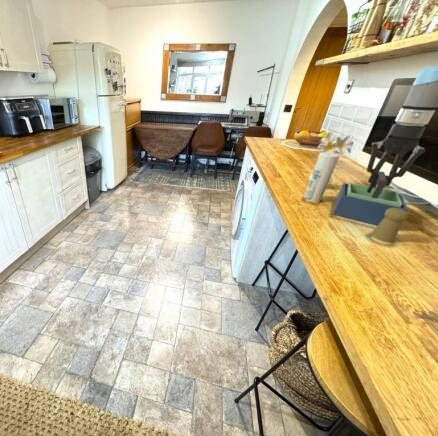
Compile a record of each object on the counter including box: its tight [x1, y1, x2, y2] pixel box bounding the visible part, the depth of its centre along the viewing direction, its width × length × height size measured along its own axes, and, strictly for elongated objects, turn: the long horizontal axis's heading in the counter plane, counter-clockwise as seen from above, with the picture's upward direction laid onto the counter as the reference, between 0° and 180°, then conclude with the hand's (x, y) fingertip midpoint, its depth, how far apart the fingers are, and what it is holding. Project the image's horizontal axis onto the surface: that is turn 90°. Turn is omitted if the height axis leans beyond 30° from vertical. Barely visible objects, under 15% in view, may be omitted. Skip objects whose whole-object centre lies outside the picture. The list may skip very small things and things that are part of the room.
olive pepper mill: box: [370, 208, 409, 244], centre depth 75 cm, size 6×6×11 cm
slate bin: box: [332, 182, 409, 227], centre depth 90 cm, size 18×16×9 cm
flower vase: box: [308, 131, 355, 187], centre depth 110 cm, size 13×18×25 cm
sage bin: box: [345, 170, 402, 207], centre depth 88 cm, size 14×12×15 cm
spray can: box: [303, 151, 340, 203], centre depth 98 cm, size 6×6×20 cm
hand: (373, 192), depth 87 cm, fingers closed on sage bin, 2 cm apart
